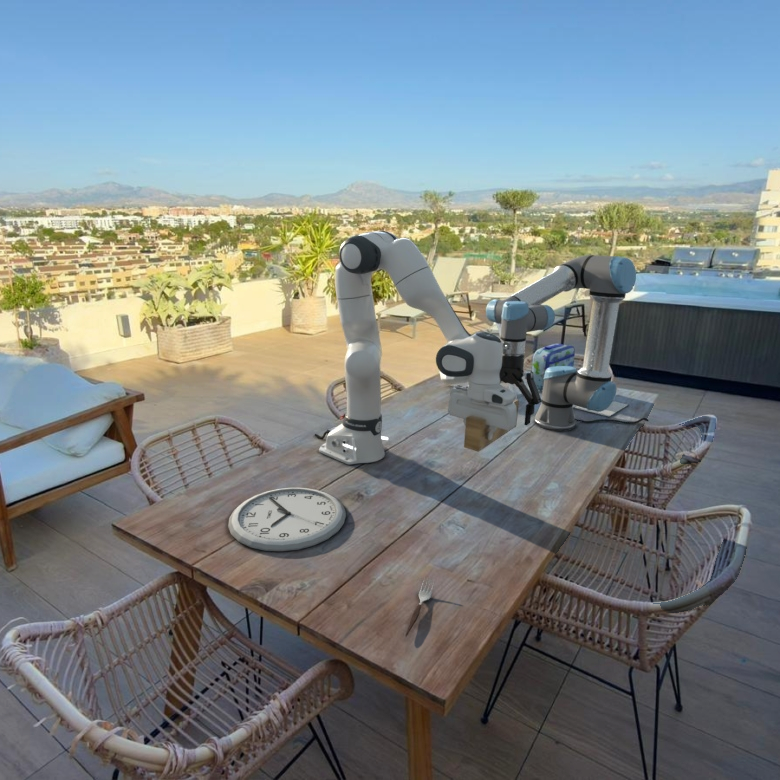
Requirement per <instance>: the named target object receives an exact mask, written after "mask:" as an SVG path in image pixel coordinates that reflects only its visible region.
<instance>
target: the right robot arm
mask: <svg viewBox="0 0 780 780" xmlns="http://www.w3.org/2000/svg"><path fill="white" fill-rule="evenodd" d="M636 281H637V270H636V266H635V264H634V262H633V261H632V260H631V259H630V258H628V257H624V256H617V255H615V256H614V255H595V254H586V255H581V256H578V257H575V258H572V259H569V260H567V261H564V262H563V263H561V264H559V265H558V266H556V267H555V268H554V269H553V270H552V272H551V273H549V274H548V275H546V276H544V277H542V278H540V279H538V280H536V281H535V282H533V283H531V284H530V285H528V286H526V287H524V288H522V289H520V290H519V291H517V292H515V293H514V294H512V295H510V296H508V297H506V298H504V299H499V298H498V299H491V300H490V301H489V302H488V303H487V305H486V307H485V316H486V319H487V320H488V321H489V322H491V323H495V324H496V323H497V324H501V336H500V335H499V339H500V340H501V342H502V351H503V353H502V367H501V370H500V374H499V376H500V383H501V382H503V384H507V383H509V384H513V385H514V386H516V387H517V388H518V389H519V391H520V393H521V394H522V396H523V397H524V399H525V400H526V402H527V403H526V404H525V415H524V423H523V424H524V426H528V425H529V424H531V420H532V419H531V418H532V416H533V415H534V414H535V416H534V424H535V425H536V426H537V427H539V428H542V429H544V430H549V431H556V432H567V431H572V430H574V429H575V428H576V422H579V423H585V424H591V423H598V422H612V423H619V424H625V425H635V424H638V423H640V422H642V421H646V422H650V421H649V419H648V418H646V417H642V418H640V419H638V420H636V421H625V420H618V419H612V418H599V419H594V420H584V419H580V418H575V417H576V416H575V413H574V407H573V406H575V407H576V406H579V407H583V408H586V409H588V410H593V411H597V412H601V411H604V410H605V409H607V408H608V407H609V406H610V404H611V403H612V401H614V400H615V398H616V394H617V384H616V383H614V381H612V377H613V376H612V373H611V372H610V371H609V368H610V367H609V366H610V360H611V355H612V350H613V343H614V336H615V332H616V331H615V330H616V326H617V320H618V319H617V318H618V313H619V307H620V303H621V302H623V300H624V299H626V296H627V295H626V294H630V292H632V291H633V289H634V287H635V285H636ZM574 289H586V290H589V294H588V296H589V297H590V299H592V305H591V310H590V317H589V323H588V330H587V336H586V342H585V349H584V355H583V360H582V361H583V363H582V367H580V368H579V369H578V368H577V367H576V366H573V367H571V366H555V367H549V368H547V369H546V371H545V375H544V378H543V379H544V381H543V390H541V391H542V394H541V395H540V392H539V390H538V389H537V387H536V384H535V381H534V377H533V372H532V370H531V371H524V365H525V355H524V354H525V353H526V343H527V342H526V341H527V333H529V332H531V333H532V332H536V331H543V330H545V329H548V328H549V329H550V328H551V327H552V326H553V325H554V323H555V320H556V314H555V310H554V309H553V308H552V306H550V305H548V304H544V303H546V302H548V301H549V300H551V299H552V298H554V297H556V296H557V295H559V294H561V293H563V292H565V293H567V292H571V291H572V290H574ZM523 376H524V378H525V380H526V384H527V387H528V389H527V387H526V385H525V384H524V381H523V379H522V377H523ZM539 404H540V405H539ZM537 405H539V407H538V410H537V411H536V413H535V409H536V408H535V407H536V406H537Z"/></svg>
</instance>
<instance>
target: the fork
mask: <svg viewBox="0 0 780 780" xmlns="http://www.w3.org/2000/svg"><path fill="white" fill-rule="evenodd" d="M425 579H426V577H424V578H423V581H422V584H421V587H420V590H419V592H418V598H419V599H418V600H419V603H418V605H417V606H416V608H415V609H414V611H413V612H412V615H411V617H410V620H409V623H408V627H407V630H406V632H405V637H407V636H408V635H409V633H410V631H411V629H412V628H413V626H414V625H415V623H416V622H417V620H418V617H419V615H420V611H421V608H422V605H423V603H424V602H426V601H429V600H430V599H431V597H432V596H433V595H432V594H433V590H434V585H435V579H433V582H432V580H429V578H427V579H426V582H425ZM428 581H429V584H428ZM431 583H432V585H431ZM424 584H425V585H424Z"/></svg>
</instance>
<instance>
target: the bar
mask: <svg viewBox="0 0 780 780" xmlns="http://www.w3.org/2000/svg"><path fill="white" fill-rule="evenodd" d="M513 402H514V403H515V405H516V408H517V416H518V414H519V407H520V406H519V405H520V399H519V398H516V399H515V400H514V401H513ZM485 420H486V419H483V418H479V417H475V416H471V415H470V416H469V417H467V418H466V426H465V425H464V426H465V427H464V438H463V448H465V449H468V450H471V451H473V452H474V451H475V452H477V453H479V452H481V451H482V450H484V449H485V448H487V447H488V446H490V445H491V444H493V443H494V442H496V441H497V440H498V439H501V438H502V437H503V436H505V435H506V434H508V433H509V432H510V431H512V430H513V429H515V428H516V427H517V423H518V422H517V421H518V419H517V420H516V425H515V427H514V428H512V429H511V430H504V429H501V428H497V429H496V430H495V432H494V433H493V437H492V439H491V440H488V439H485V437H486V433H487V432H490V431H491V429H490V426H489V425H486V424H485Z"/></svg>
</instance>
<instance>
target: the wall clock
mask: <svg viewBox="0 0 780 780" xmlns="http://www.w3.org/2000/svg"><path fill="white" fill-rule="evenodd" d="M346 518H347V513H346V509H345V506H344V505H343V503H341V501H340V500H339V499H338V498H336V497H334V496H332V495H331V494H330V493H327V492H324V491H321V490H318V489H313V488H308V487H283V488H277V489H272V490H267V491H264V492H261V493H258V494H255V495H253V496H252V497H250V498H248V499H246V500H244V501H243V502H242V503H240V504H239V505H238V506H237V507H236V508H234V510H233V511H232V513H231V514H230V516H229V518H228V524H227V528H228V530H229V532H230V535H231V536H232V538H234V539H235V540H236V541H237V542H238V543H239V544H242V545H244V546H246V547H249V548H251V549H256V550H261V551H266V552H287V551H288V552H289V551H299V550H302V549H306V548H310V547H313V546H316V545H318V544H320V543H323V542H325V541H328V540H329V539H330V538H332V537H333V536H334V535H336V534H337V533H339V531H340V530H341V528H342V527H343V526H344V524H345V521H346Z"/></svg>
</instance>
